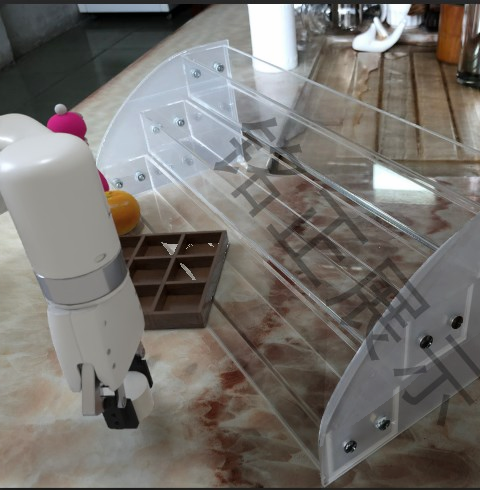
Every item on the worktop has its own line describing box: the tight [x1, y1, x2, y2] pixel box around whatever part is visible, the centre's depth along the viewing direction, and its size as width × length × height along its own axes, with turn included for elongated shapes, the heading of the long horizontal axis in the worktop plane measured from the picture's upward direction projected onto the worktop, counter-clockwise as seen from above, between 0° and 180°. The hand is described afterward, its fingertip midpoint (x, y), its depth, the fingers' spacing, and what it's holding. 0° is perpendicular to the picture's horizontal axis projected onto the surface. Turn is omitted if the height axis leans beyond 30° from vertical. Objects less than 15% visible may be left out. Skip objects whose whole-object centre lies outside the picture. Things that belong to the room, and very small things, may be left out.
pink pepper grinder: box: [46, 103, 110, 192], centre depth 101 cm, size 7×7×20 cm
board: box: [118, 229, 230, 331], centre depth 86 cm, size 20×20×3 cm
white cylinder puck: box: [103, 371, 155, 422], centre depth 63 cm, size 5×5×3 cm
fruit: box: [105, 189, 141, 235], centre depth 98 cm, size 8×8×8 cm
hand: (131, 405), depth 64 cm, fingers closed on white cylinder puck, 4 cm apart
